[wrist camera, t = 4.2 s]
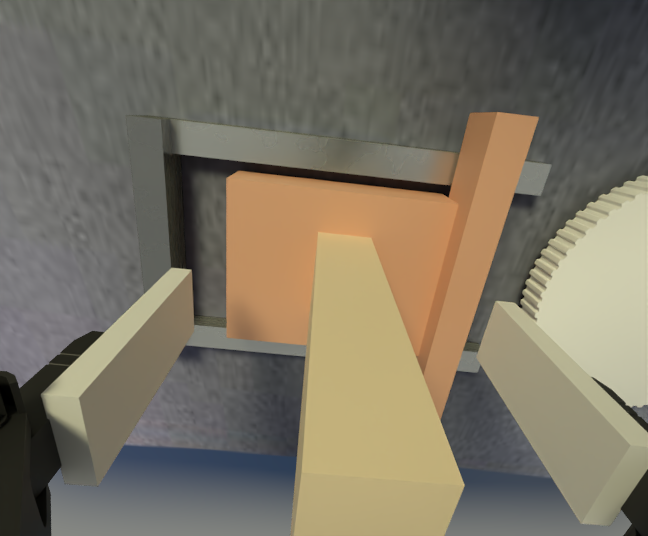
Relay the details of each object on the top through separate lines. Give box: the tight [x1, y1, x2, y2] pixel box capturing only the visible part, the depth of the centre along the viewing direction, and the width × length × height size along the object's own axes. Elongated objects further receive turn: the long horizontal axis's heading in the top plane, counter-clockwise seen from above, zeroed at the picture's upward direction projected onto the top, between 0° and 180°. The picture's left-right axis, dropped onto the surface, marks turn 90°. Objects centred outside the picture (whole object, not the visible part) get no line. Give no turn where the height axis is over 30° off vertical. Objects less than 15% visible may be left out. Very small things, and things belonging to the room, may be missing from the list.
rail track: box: [126, 115, 552, 373], centre depth 19 cm, size 20×12×2 cm, turn 84°
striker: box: [227, 112, 539, 536], centre depth 13 cm, size 12×16×14 cm
